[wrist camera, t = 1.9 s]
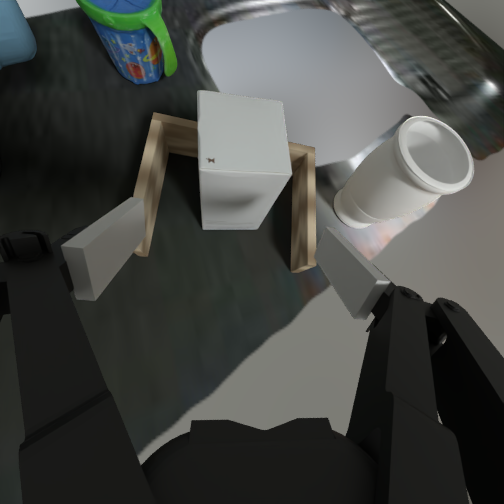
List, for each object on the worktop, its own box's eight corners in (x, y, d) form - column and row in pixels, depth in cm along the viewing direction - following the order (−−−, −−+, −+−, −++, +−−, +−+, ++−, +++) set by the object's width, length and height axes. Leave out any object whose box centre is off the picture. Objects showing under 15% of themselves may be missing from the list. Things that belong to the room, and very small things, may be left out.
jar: (373, 185, 41) (461, 120, 27) (383, 235, 38) (486, 194, 24) (323, 180, 39) (390, 108, 25) (331, 233, 36) (410, 187, 22)
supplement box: (258, 231, 34) (295, 176, 20) (201, 230, 32) (196, 170, 18) (254, 180, 36) (285, 98, 22) (201, 177, 34) (195, 86, 20)
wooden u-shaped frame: (297, 272, 33) (316, 265, 28) (138, 255, 29) (121, 243, 24) (298, 171, 38) (314, 147, 32) (162, 144, 34) (153, 112, 28)
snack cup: (82, 52, 35) (34, -43, 26) (133, 30, 39) (108, -62, 29) (149, 114, 35) (126, 41, 25) (195, 86, 38) (191, 11, 29)
